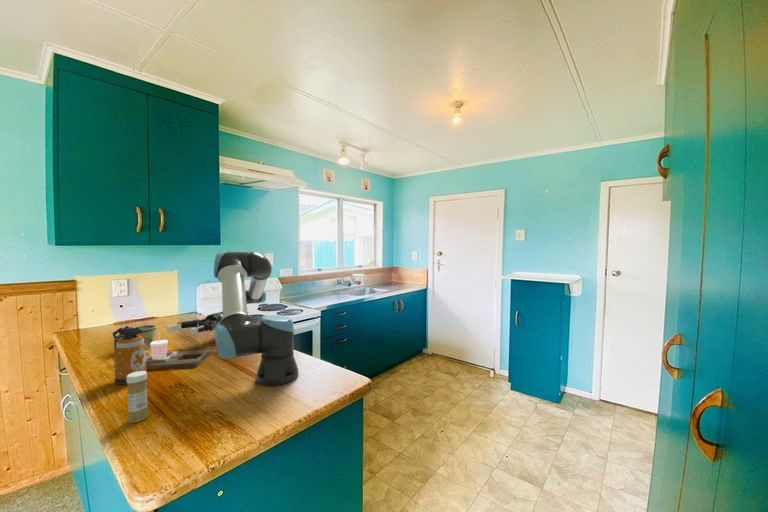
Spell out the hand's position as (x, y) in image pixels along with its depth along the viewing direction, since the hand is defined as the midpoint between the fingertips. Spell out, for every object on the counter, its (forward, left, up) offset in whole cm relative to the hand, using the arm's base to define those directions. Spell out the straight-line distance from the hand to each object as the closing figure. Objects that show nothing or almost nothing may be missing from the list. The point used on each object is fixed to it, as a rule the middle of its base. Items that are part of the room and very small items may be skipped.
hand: (179, 331), depth 139 cm
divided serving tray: (-9, -2, -11) cm, 14 cm away
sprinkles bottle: (-54, -13, -11) cm, 57 cm away
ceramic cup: (+15, +22, -11) cm, 29 cm away
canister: (-25, +6, -11) cm, 28 cm away
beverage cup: (-9, +4, -11) cm, 15 cm away
